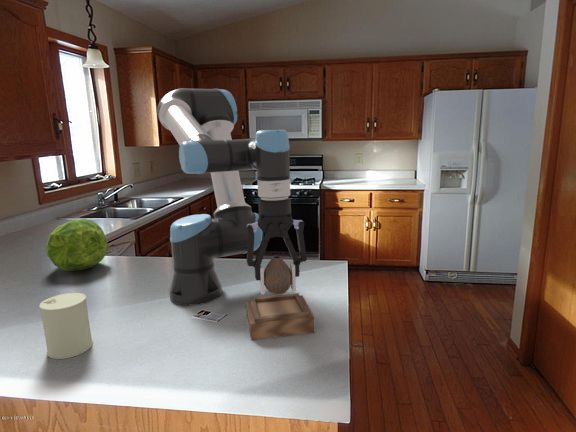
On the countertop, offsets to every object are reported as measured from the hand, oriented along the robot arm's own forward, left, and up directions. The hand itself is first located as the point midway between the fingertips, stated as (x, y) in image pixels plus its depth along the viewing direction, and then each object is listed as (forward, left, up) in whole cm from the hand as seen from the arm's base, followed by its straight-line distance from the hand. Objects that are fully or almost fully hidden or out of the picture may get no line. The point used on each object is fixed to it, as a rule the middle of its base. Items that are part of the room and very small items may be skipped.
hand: (277, 290), depth 98 cm
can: (-48, -1, -9) cm, 49 cm away
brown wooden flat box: (0, 0, -9) cm, 9 cm away
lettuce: (-65, +60, -9) cm, 89 cm away
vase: (0, 0, 0) cm, 0 cm away
